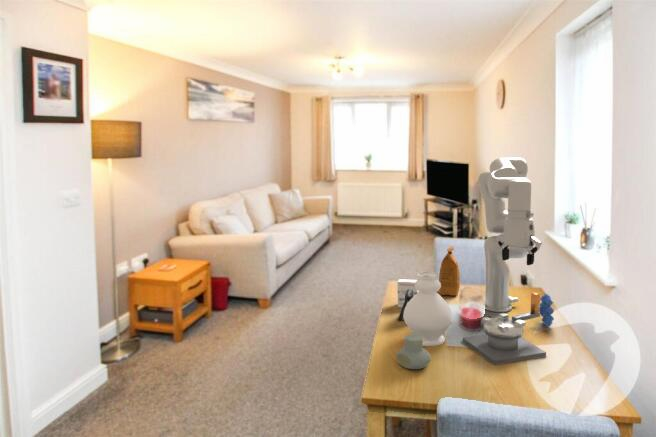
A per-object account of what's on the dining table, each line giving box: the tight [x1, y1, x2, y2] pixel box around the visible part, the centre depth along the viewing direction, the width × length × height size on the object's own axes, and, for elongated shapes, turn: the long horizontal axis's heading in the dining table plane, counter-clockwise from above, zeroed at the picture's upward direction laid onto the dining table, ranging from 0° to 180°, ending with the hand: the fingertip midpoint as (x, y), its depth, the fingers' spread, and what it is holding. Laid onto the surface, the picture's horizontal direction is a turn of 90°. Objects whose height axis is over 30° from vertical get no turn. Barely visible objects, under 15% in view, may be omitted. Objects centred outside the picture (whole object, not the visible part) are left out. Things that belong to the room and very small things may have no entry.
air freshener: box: [396, 333, 431, 370], centre depth 164 cm, size 11×8×10 cm
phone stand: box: [397, 289, 414, 323], centre depth 205 cm, size 9×6×12 cm, turn 74°
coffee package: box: [438, 245, 461, 296], centre depth 236 cm, size 10×12×22 cm
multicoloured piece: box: [481, 292, 541, 340], centre depth 175 cm, size 23×13×12 cm, turn 115°
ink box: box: [397, 278, 419, 308], centre depth 220 cm, size 9×5×12 cm, turn 75°
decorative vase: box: [403, 271, 453, 347], centre depth 183 cm, size 18×18×25 cm
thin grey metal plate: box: [462, 333, 547, 366], centre depth 175 cm, size 20×20×6 cm
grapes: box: [539, 293, 555, 328], centre depth 195 cm, size 12×7×12 cm, turn 170°
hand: (517, 262), depth 177 cm, fingers open, 9 cm apart
